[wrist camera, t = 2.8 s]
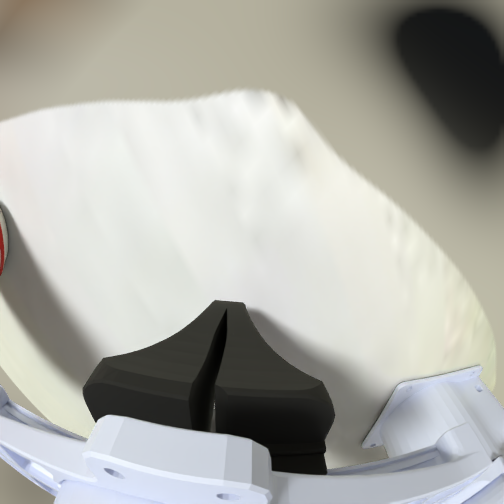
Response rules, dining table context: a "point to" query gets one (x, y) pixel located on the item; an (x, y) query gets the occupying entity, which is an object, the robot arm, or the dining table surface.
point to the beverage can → (3, 241)
